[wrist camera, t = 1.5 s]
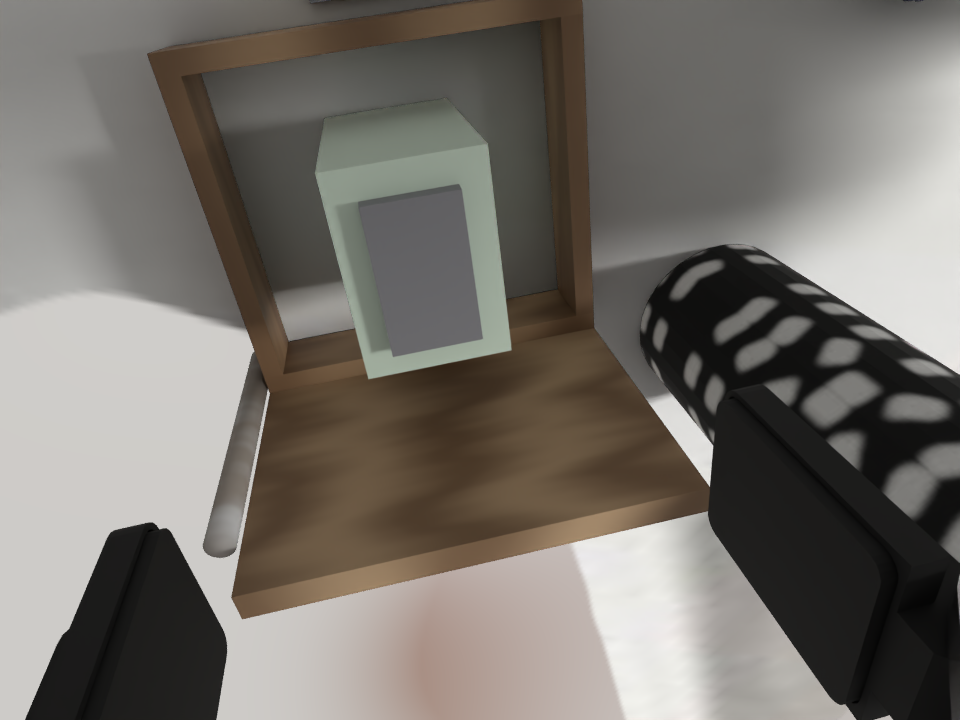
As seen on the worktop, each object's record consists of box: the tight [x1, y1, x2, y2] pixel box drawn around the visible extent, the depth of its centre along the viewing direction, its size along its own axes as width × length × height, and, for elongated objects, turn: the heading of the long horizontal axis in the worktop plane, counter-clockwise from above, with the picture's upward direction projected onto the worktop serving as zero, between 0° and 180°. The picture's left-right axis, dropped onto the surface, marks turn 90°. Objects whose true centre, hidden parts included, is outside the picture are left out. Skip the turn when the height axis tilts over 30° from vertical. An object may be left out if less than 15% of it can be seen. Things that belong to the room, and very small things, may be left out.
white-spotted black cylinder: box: [640, 244, 960, 563], centre depth 25 cm, size 8×8×20 cm
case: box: [147, 0, 710, 619], centre depth 22 cm, size 16×15×14 cm
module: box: [315, 98, 512, 379], centre depth 24 cm, size 5×7×10 cm
